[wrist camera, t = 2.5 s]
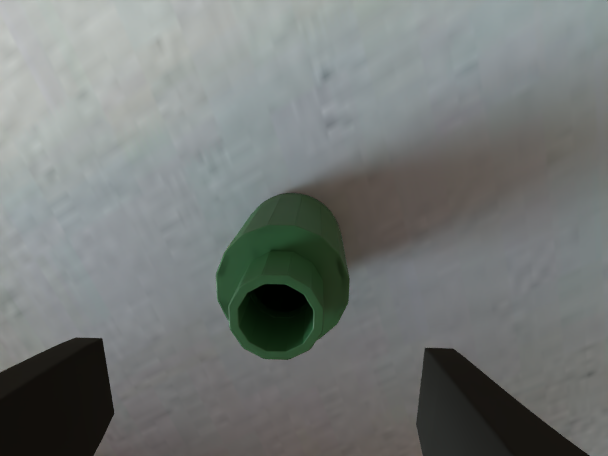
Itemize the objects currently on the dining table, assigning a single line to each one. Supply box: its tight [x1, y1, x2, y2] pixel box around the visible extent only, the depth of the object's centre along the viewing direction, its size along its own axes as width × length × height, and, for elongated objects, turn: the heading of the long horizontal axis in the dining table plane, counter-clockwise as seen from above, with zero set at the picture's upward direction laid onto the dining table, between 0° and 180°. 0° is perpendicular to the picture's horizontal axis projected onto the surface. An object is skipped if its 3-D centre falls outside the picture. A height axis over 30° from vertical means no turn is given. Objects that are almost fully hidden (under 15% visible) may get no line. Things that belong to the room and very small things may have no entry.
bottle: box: [216, 193, 349, 360], centre depth 15 cm, size 5×5×8 cm
